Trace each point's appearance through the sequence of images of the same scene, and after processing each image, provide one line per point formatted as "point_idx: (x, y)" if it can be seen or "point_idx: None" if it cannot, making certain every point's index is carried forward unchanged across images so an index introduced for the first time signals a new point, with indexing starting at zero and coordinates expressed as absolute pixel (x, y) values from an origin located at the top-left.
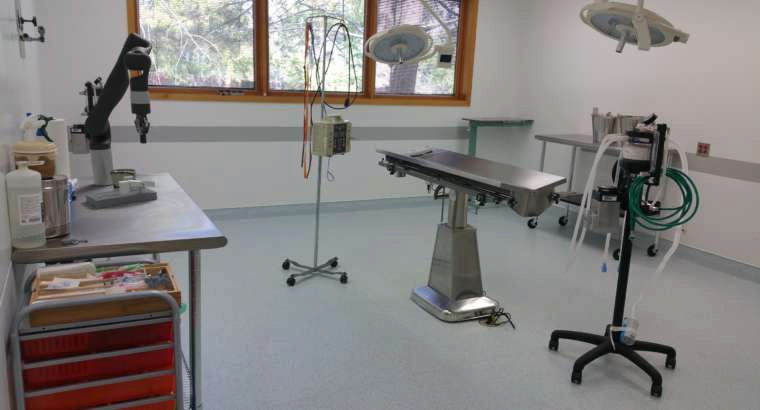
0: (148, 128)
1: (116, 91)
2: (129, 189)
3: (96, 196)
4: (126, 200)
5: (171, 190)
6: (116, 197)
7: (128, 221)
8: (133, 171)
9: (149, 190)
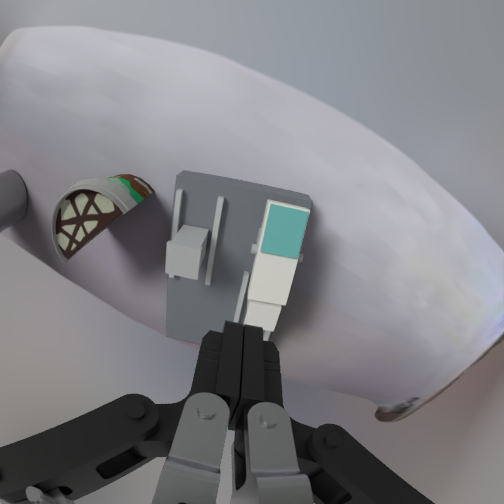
0: (399, 482)
1: None
2: None
3: None
4: None
5: (223, 79)
6: None
7: (410, 345)
8: (124, 213)
9: (263, 199)
